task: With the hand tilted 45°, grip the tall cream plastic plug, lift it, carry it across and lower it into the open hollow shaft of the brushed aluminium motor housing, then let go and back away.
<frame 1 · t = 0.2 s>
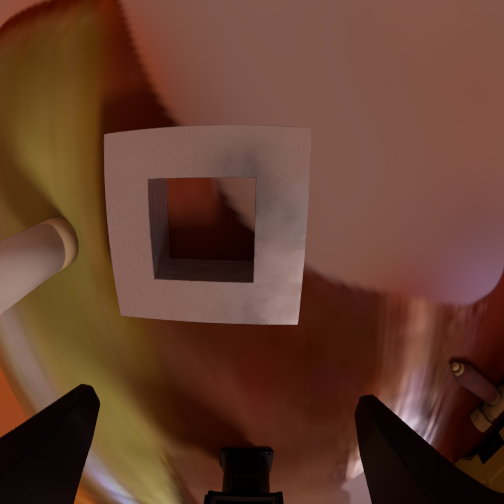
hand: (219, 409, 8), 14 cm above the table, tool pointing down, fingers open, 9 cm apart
gavel: (476, 380, 28), on the table
housing: (210, 217, 21), on the table
plug: (59, 241, 21), on the table
vintage telephone: (490, 437, 34), on the table
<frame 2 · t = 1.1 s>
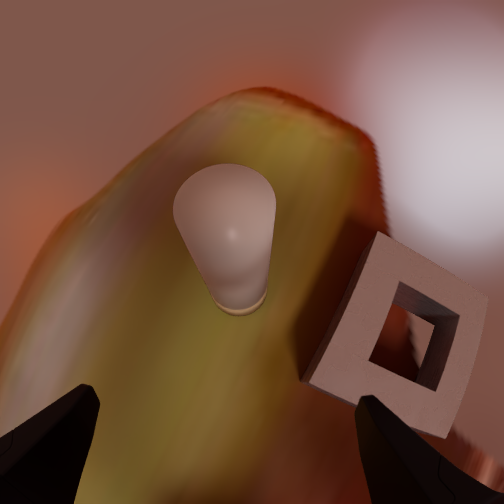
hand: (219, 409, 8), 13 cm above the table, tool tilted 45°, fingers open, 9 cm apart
housing: (396, 344, 21), on the table
plug: (239, 289, 24), on the table
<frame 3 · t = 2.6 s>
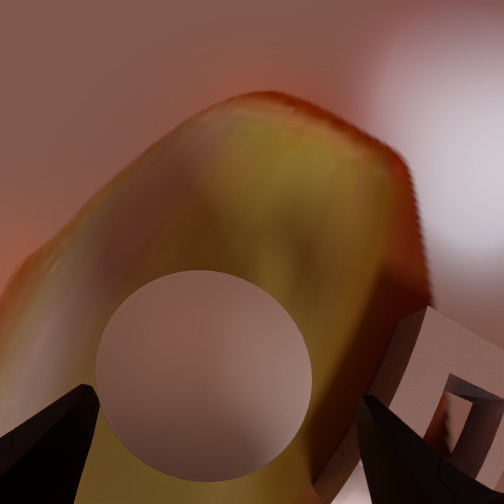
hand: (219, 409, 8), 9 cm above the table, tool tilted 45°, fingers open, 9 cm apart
housing: (429, 432, 14), on the table
plug: (236, 379, 16), on the table
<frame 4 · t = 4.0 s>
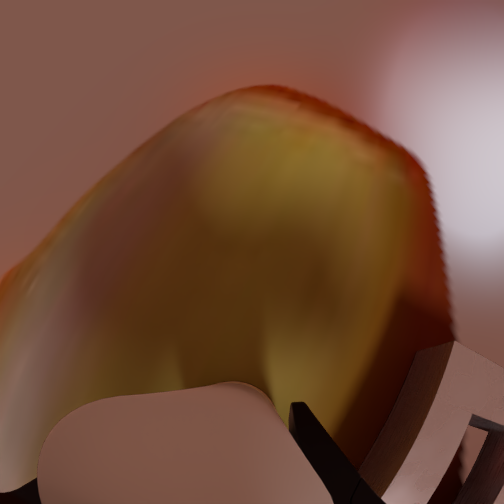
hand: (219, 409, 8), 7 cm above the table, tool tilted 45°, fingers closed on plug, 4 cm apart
housing: (443, 466, 11), on the table
plug: (234, 420, 13), on the table, touching gripper
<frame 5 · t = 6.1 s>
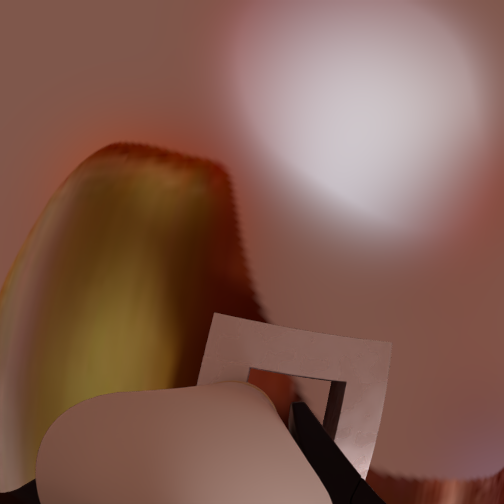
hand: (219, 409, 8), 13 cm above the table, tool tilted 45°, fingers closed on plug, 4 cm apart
housing: (283, 414, 19), on the table
plug: (233, 419, 13), point 7 cm above the table, touching gripper
when the fingers open (8 cm above the table, at t = 8.4 s): plug drops 1 cm, resting in housing.
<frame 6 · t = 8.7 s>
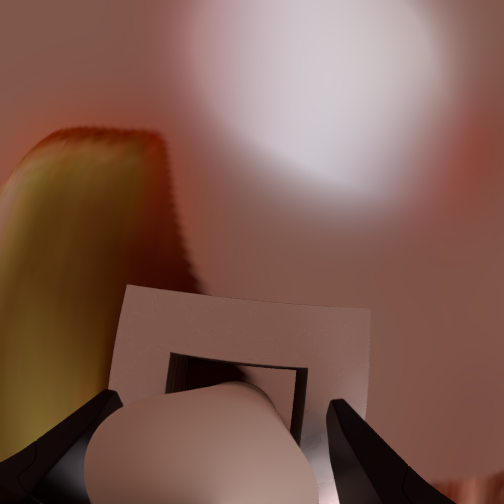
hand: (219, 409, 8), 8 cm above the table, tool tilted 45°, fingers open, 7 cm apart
housing: (236, 416, 15), on the table
plug: (236, 417, 15), resting in housing
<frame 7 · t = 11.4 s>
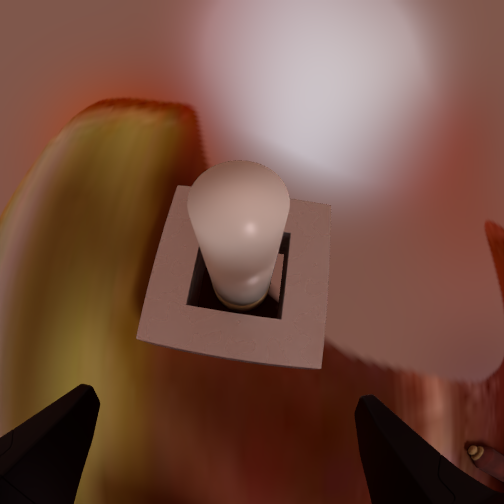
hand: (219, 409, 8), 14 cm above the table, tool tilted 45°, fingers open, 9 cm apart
gavel: (500, 471, 15), on the table
housing: (241, 284, 24), on the table
plug: (241, 284, 24), resting in housing
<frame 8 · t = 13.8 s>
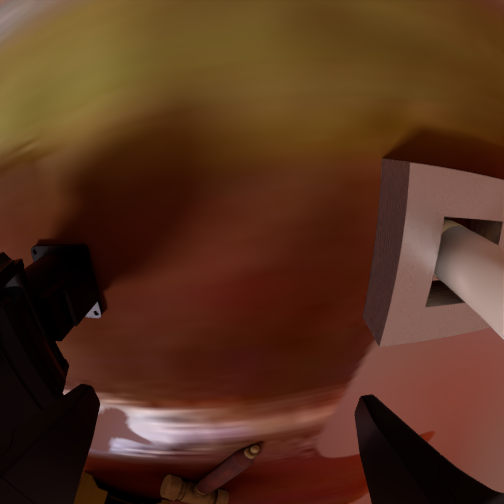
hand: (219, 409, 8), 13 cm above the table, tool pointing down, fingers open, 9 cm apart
gavel: (218, 467, 32), on the table
housing: (440, 244, 20), on the table
plug: (439, 244, 20), resting in housing
vintage telephone: (122, 492, 40), on the table
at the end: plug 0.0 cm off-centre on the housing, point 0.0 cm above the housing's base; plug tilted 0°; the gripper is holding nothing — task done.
